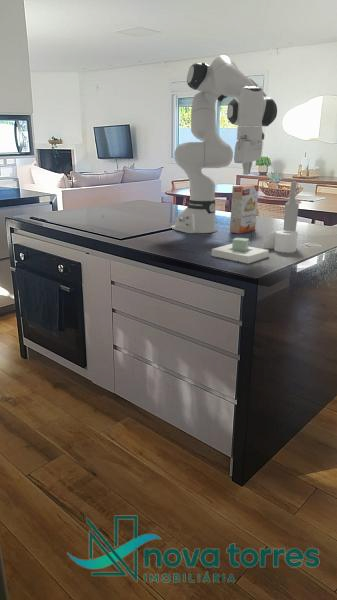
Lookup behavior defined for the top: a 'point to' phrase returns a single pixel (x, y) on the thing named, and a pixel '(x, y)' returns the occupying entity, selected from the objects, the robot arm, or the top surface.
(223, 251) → the socket plate
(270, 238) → the toilet paper
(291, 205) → the bottle
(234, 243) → the plug
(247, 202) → the cracker box
